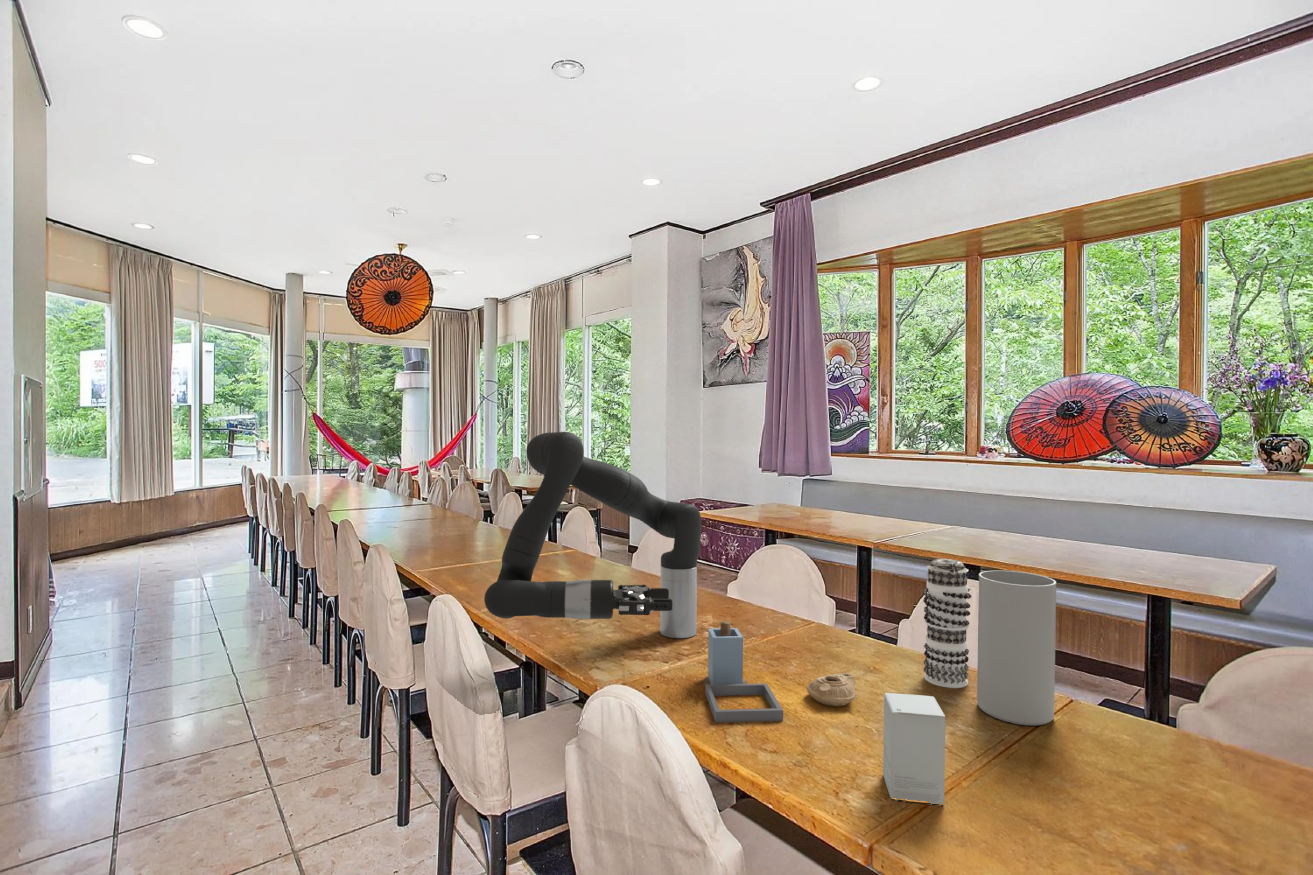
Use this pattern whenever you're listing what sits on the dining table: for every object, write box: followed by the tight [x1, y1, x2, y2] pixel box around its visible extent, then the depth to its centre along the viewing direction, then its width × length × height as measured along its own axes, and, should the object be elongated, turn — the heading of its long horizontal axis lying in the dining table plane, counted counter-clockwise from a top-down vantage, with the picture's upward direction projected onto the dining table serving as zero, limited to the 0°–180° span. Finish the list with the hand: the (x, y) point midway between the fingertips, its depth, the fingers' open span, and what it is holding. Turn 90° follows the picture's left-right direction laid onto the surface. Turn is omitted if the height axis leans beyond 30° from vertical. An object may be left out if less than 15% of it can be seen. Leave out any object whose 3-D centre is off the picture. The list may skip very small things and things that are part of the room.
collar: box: [707, 627, 744, 685], centre depth 131 cm, size 6×6×10 cm
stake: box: [702, 621, 748, 687], centre depth 131 cm, size 9×9×13 cm
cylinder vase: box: [976, 570, 1057, 726], centre depth 120 cm, size 12×12×25 cm
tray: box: [704, 683, 784, 723], centre depth 119 cm, size 12×12×3 cm
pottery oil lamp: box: [806, 672, 857, 707], centre depth 124 cm, size 9×12×7 cm
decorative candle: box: [923, 558, 972, 689], centre depth 135 cm, size 9×9×25 cm
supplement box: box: [882, 692, 946, 805], centre depth 94 cm, size 7×7×13 cm
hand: (670, 598), depth 130 cm, fingers open, 8 cm apart
